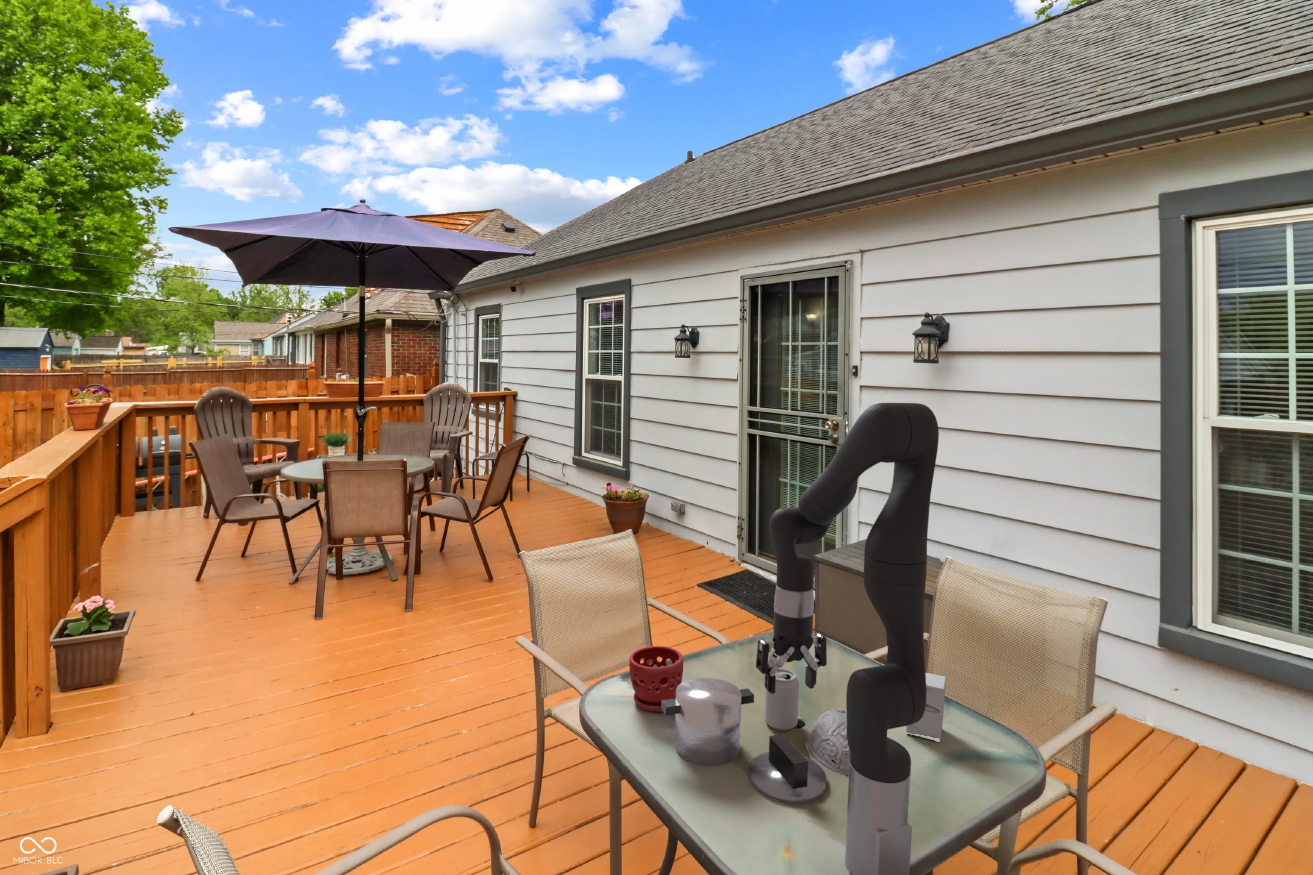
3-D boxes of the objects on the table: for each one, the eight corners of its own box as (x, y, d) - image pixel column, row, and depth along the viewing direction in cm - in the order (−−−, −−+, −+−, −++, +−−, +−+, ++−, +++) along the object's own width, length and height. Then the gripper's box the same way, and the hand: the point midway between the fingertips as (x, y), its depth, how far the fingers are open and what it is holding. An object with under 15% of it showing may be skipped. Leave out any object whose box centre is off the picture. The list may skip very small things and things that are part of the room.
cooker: (764, 756, 134) (766, 701, 133) (673, 772, 128) (674, 715, 127) (736, 722, 147) (737, 672, 146) (652, 735, 141) (653, 683, 140)
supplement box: (905, 735, 144) (908, 680, 143) (909, 720, 150) (911, 668, 149) (940, 744, 140) (944, 688, 139) (943, 728, 147) (946, 675, 146)
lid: (841, 796, 122) (842, 763, 121) (770, 811, 117) (772, 776, 117) (800, 753, 136) (802, 723, 136) (736, 764, 132) (737, 733, 131)
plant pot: (660, 685, 165) (661, 640, 164) (693, 706, 155) (694, 658, 154) (618, 699, 157) (618, 652, 156) (650, 722, 147) (651, 672, 146)
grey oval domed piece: (803, 769, 130) (808, 737, 129) (806, 714, 154) (810, 687, 154) (883, 790, 126) (888, 757, 126) (873, 731, 150) (878, 703, 150)
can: (797, 734, 143) (799, 682, 142) (763, 730, 145) (765, 678, 144) (797, 717, 150) (799, 668, 150) (764, 713, 152) (766, 664, 151)
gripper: (769, 619, 118) (766, 703, 120) (836, 612, 123) (832, 693, 124) (751, 605, 125) (749, 685, 127) (815, 599, 130) (812, 676, 131)
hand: (790, 689), depth 125 cm, fingers open, 8 cm apart
